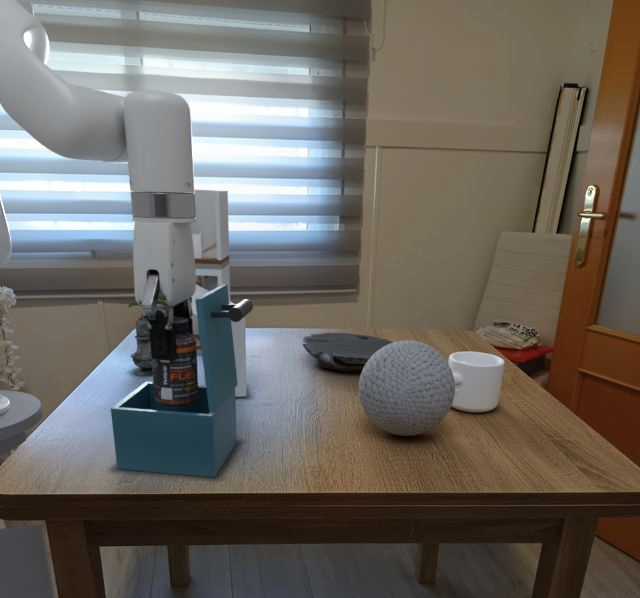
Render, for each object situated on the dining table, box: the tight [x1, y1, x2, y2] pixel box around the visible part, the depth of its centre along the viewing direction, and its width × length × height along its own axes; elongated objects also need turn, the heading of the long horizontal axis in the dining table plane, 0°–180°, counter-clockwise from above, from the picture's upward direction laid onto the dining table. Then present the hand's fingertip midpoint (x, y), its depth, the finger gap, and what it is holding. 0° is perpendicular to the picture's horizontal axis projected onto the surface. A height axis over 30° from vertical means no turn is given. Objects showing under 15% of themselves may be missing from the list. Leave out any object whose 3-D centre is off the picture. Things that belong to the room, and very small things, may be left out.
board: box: [302, 332, 395, 372], centre depth 127 cm, size 22×22×5 cm
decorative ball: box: [358, 339, 455, 437], centre depth 90 cm, size 15×15×15 cm
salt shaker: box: [130, 313, 153, 377], centre depth 116 cm, size 6×6×12 cm
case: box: [110, 381, 237, 478], centre depth 81 cm, size 14×12×9 cm
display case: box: [191, 189, 231, 355], centre depth 130 cm, size 11×11×35 cm
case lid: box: [195, 285, 254, 413], centre depth 75 cm, size 14×12×5 cm
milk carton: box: [203, 299, 247, 398], centre depth 105 cm, size 7×7×19 cm
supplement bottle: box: [152, 317, 199, 406], centre depth 77 cm, size 6×6×11 cm
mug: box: [447, 351, 506, 414], centre depth 105 cm, size 12×10×9 cm
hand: (173, 351), depth 77 cm, fingers closed on supplement bottle, 6 cm apart
